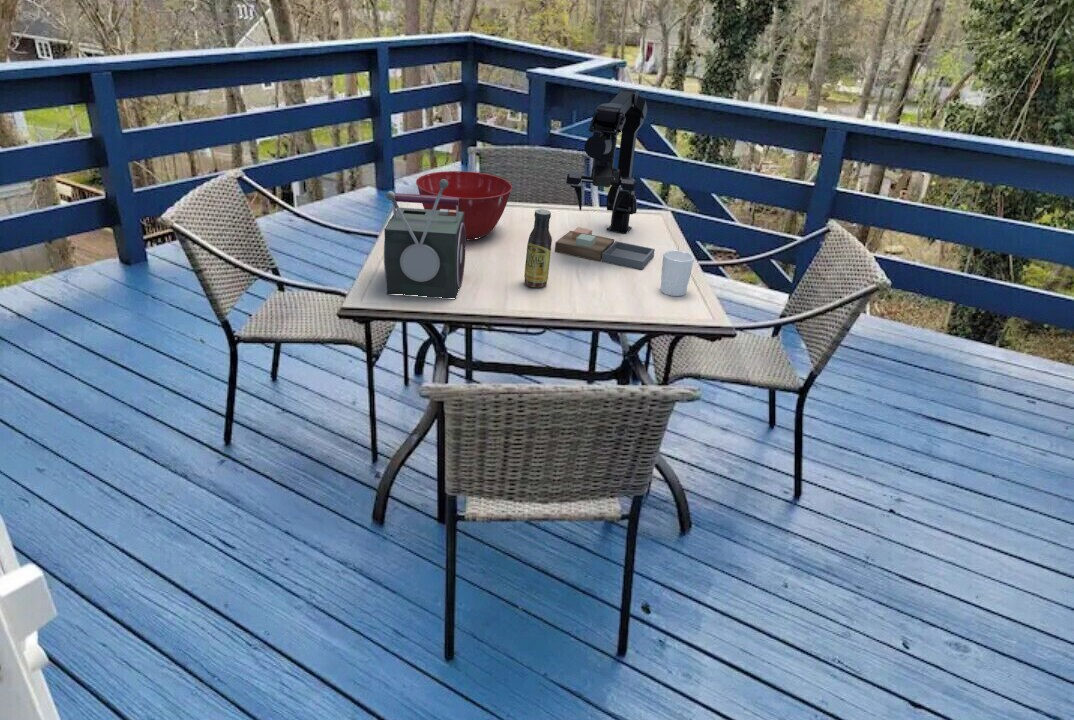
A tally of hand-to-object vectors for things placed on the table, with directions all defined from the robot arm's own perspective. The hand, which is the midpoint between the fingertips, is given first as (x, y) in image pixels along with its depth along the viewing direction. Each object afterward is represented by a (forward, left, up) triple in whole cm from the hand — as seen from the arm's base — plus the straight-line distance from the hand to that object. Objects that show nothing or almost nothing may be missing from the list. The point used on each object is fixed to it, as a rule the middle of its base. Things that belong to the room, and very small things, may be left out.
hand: (596, 212), depth 209 cm
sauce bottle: (+26, -6, -14) cm, 30 cm away
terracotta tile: (-8, -6, -11) cm, 15 cm away
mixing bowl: (+1, -41, -14) cm, 44 cm away
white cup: (+11, +27, -14) cm, 32 cm away
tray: (-5, +9, -14) cm, 17 cm away
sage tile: (-3, -3, -11) cm, 12 cm away
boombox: (+41, -31, -14) cm, 53 cm away
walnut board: (-5, -4, -14) cm, 15 cm away
